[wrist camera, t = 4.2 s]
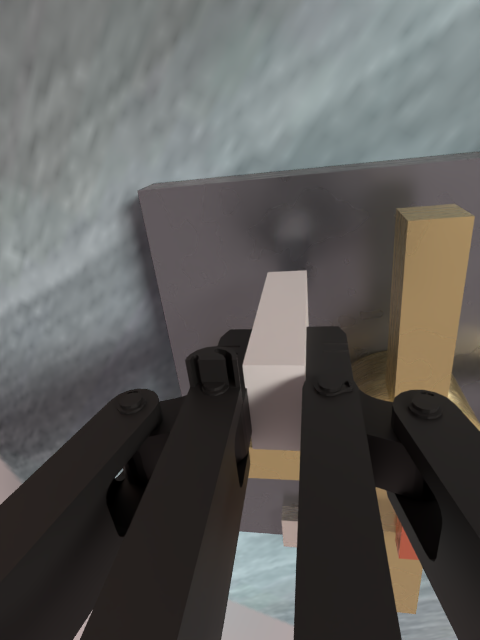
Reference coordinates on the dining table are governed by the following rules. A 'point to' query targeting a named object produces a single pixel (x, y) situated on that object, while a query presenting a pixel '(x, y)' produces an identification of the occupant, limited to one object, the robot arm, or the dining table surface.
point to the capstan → (408, 355)
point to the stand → (302, 266)
